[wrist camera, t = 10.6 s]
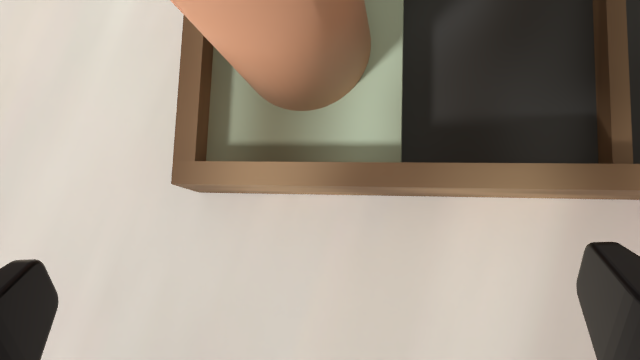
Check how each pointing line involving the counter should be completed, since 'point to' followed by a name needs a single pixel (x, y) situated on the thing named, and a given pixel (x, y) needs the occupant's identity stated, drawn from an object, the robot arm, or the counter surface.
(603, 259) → the robot arm
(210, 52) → the box
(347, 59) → the smooth tapered peach-colored object
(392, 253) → the counter surface
